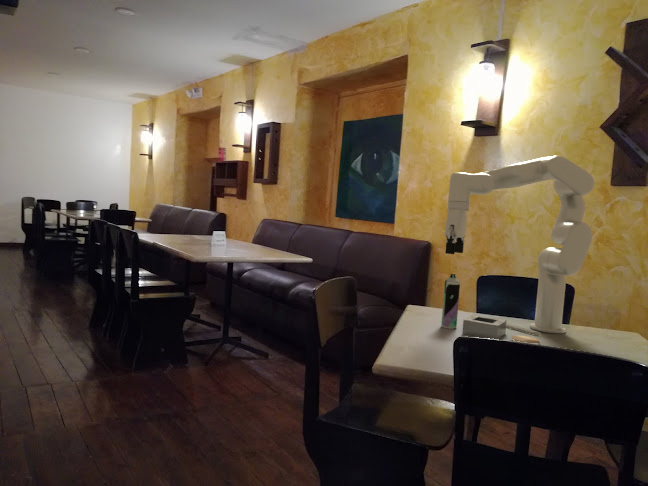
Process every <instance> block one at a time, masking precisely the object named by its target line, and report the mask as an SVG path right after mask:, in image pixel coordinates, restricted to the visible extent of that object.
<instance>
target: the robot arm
mask: <svg viewBox="0 0 648 486" xmlns="http://www.w3.org/2000/svg"><path fill="white" fill-rule="evenodd" d="M449 177H450V178H449V190H448V199H447V200H448V202H447V216H446V221H445V228H444V236H445V238H446V240H445V254H448V255H455V253H458V254H463V253H464V246H465V245H464V243H465V237H466V231H467V212H469V211H470V210H469V209H470V201H471V195H472V196H473V195H474V196H475V195H487V194H489V193H491V192H492V191H494V190H501V189H514V188H519V187H524V186H528V185H531V184H537V183H540V182H544V181H549V180H551V181H552V180H554V181H553V187H554V191H555V192H556V194H557V196H558V197H559V201H560V206H559V207H560V208H559V211H558V214H557V217H556V220H555V222H554V224H553V228H552V230H551V232H550V238H551V240H552V242H554V244H556V245H559V246H562V248H561V247H556V246H555V247H554V246H553V247H552V246H550V247H546V248H545V249H543V250H541V251H540V252H539V255H538V257H537V269H538V281H537V282H538V283H537V292H536V293H537V294H536V304H535V316H534V322H532V323H529V328H531V330H533V331H537V332H543V333H549V334H564V333H566V331H567V329H566V328H565V327H564V326H562V324H563V315H564V306H565V297H566V294H565V292H566V286H567V285H566V278H565V277H571V276H574V275H576V274H578V273H579V271H580V270H581V269H582V268H583V265H584V263H585V260H586V258H587V255H588V253H589V249H590V247H591V245H592V242H593V241H592V240H593V230H592V228H591V226H590V225H589V224H587V223H586V222H583V218H584V216H585V212H586V203H585V199H584V197H583V196H586V195H588V194H589V193H591V192H592V190H594V187H595V178H594V177H593V176H592V174H591V173H589V172H588V171H587V170H585V169H583V168H582V167H581V166H579V165H577V164H576V163H574V162H573V161H571V160H570V159H568V158H566V157H564V156H561V155H553V156H544V157H539V158H535V159H532V160H527V161H523V162H522V161H521V162H518V163H514V164H509V165H506V166H502V167H499V168H496V169H491V170H486V171H483V172H478V173H468V172H452V173H451V175H450V176H449Z"/></svg>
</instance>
